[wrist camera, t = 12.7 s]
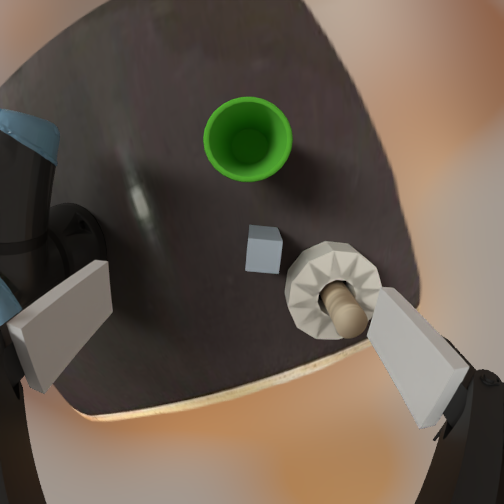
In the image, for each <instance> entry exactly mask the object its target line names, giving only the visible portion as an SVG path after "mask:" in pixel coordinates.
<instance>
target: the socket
mask: <svg viewBox="0 0 504 504" xmlns="http://www.w3.org/2000/svg"><path fill="white" fill-rule="evenodd" d="M335 280H345V281H346V287H347V288H348V290H349V291H350V292H351V294H352V295H353V297H354V298H355V299H356V301H357V302H358V304H359V305H360V306H361V308H362V309H363V311H364V312H365V314H366V315H367V318H368V321H369V320H370V319H371V318H372V316H373V313H374V310H375V306H376V303H377V299H378V295H379V291H380V287H382V285H381V281H380V278H379V274H378V271H377V268H376V267H375V266H374V265H373V264H372V263H371V262H370V261H368V260H367V259H366V258H365V257H364V256H363V255H361V254H360V253H359V252H358V251H357V250H355V249H354V248H353V247H352V246H350V245H349V244H347V243H338V242H328V241H324V242H322V243H320V244H318V245H315V246H313V247H311V248H308V249H306V250H304V251H302V253H301V254H300V255H299V256H298V258H297V259H296V260H295V262H294V263H293V264H292V265H291V267H290V268H289V269H288V272H287V279H286V286H285V297H286V301H287V306H288V309H289V311H290V313H291V315H292V317H293V320H294V322H295V324H296V326H297V328H299V329H300V330H302V331H304V332H305V333H307V334H309V335H310V336H312V337H314V338H315V339H337V340H339V339H341V338H343V337H342V336H340V335H339V334H338V332H337V330H336V328H335V326H334V324H333V322H332V319H331V317H330V315H329V313H328V311H327V309H326V307H325V305H324V303H323V301H321V300H320V299H318V297H319V292H320V291H321V290H322V289H323V288H324V286H325V285H326V284H328V283H330V282H332V281H335Z"/></svg>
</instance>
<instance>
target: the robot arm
mask: <svg viewBox="0 0 504 504" xmlns="http://www.w3.org/2000/svg"><path fill="white" fill-rule="evenodd" d="M59 141H60V133H59V130H58V128H57V126H56V125H55V124H53V123H51V122H49V121H47V120H44V119H41V118H38V117H35V116H32V115H28V114H24V113H20V112H16V111H12V110H7V109H0V504H46V501H45V498H44V495H43V491H42V489H41V485H40V481H39V478H38V474H37V470H36V466H35V463H34V458H33V454H32V449H31V444H30V439H29V433H28V427H27V420H26V413H25V405H24V395H23V387H22V385H21V382H20V380H21V379H22V378H23V377H24V375H25V377H26V379H27V382H28V384H29V387H30V388H32V389H34V390H37V391H39V392H41V393H43V394H45V393H46V391H47V390H48V389H49V388H50V386H51V385H52V384H53V382H54V381H55V380H56V379H57V377H58V376H59V375H60V374H61V372H62V371H63V370H64V369H65V368H66V366H67V365H68V364H69V363H70V361H71V360H72V359H73V358H74V357H75V355H76V354H77V353H78V352H79V351H80V349H81V348H82V347H83V346H84V345H85V343H86V342H87V341H88V340H89V339H90V338H91V336H92V335H93V334H94V333H95V332H96V331H97V329H98V328H99V327H100V326H101V325H102V324H103V323H104V321H105V320H106V319H107V318H108V317H109V316H110V315H111V314H112V312H113V309H112V300H111V291H110V280H109V266H108V261H106V244H105V240H104V236H103V233H102V231H101V228H100V226H99V224H98V223H97V221H96V220H95V218H94V217H93V216H92V215H91V214H90V213H89V212H88V211H87V210H86V209H84V208H83V207H81V206H79V205H77V204H73V203H63V204H59V205H55V206H52V207H50V201H51V193H52V186H53V180H54V174H55V168H56V166H57V153H58V147H59ZM367 337H368V339H369V340H370V342H371V344H372V345H373V347H374V348H375V350H376V352H377V354H378V355H379V357H380V359H381V361H382V362H383V364H384V366H385V368H386V369H387V371H388V373H389V375H390V376H391V378H392V380H393V382H394V383H395V385H396V387H397V389H398V390H399V392H400V394H401V396H402V398H403V400H404V401H405V403H406V405H407V407H408V409H409V410H410V412H411V414H412V416H413V418H414V420H415V422H416V423H417V426H418V427H419V429H422V428H427V427H431V426H435V425H436V423H437V422H438V420H439V419H440V417H441V416H442V414H444V416H445V418H446V419H447V420H446V422H445V423H444V425H443V426H442V428H441V429H440V430H439V432H438V433H437V435H436V436H435V437H434V439H433V440H434V441H436V439H437V438H438V437H439V440H438V443H437V447H436V450H435V453H434V456H433V459H432V462H431V465H430V467H429V470H428V473H427V475H426V478H425V481H424V483H423V486H422V488H421V491H420V493H419V495H418V498H417V500H416V502H415V504H504V383H502V382H501V380H500V378H499V377H498V376H497V375H496V374H494V373H493V372H490V371H489V370H484V369H482V370H477V371H476V369H474V367H473V366H472V365H471V364H470V363H469V362H468V361H467V360H466V359H465V357H464V356H463V355H462V354H460V352H459V351H458V350H457V349H456V348H455V347H454V346H453V344H452V343H451V342H450V341H449V340H448V339H446V338H444V337H443V336H441V335H440V334H439V333H438V332H437V331H436V330H435V329H434V328H433V327H432V326H431V324H430V323H429V322H428V321H427V320H426V319H424V317H423V316H422V315H421V314H420V313H419V312H418V311H417V310H416V309H415V308H414V307H413V306H412V305H411V304H410V303H409V302H408V301H407V300H406V299H405V298H404V297H403V296H402V295H401V294H400V293H399V292H397V291H396V290H395V289H394V288H388V287H380V291H379V295H378V299H377V303H376V306H375V310H374V313H373V317H372V320H371V324H370V327H369V330H368V333H367Z"/></svg>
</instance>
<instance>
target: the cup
mask: <svg viewBox="0 0 504 504" xmlns="http://www.w3.org/2000/svg"><path fill="white" fill-rule="evenodd" d="M292 141H293V137H292V129H291V127H290V124H289V122H288V119H287V118H286V116H285V115H284V114H283V112H282V111H281V110H280V109H279V108H278V107H276V106H275V105H274V104H272V103H270V102H268V101H266V100H264V99H260V98H256V97H240V98H236V99H232V100H230V101H228V102H226V103H224V104H222V105H221V106H220V107H219V108H218V109H217V110H215V111H214V113H213V114H212V115H211V117H210V118H209V120H208V122H207V125H206V127H205V130H204V138H203V142H204V149H205V152H206V155H207V157H208V160H209V161H210V163H211V164H212V165H213V167H214V168H215V169H216V170H217V171H219V172H220V173H221V174H222V175H224V176H226V177H228V178H230V179H232V180H236V181H240V182H256V181H260V180H264V179H266V178H268V177H270V176H272V175H274V174H275V173H276V172H277V171H278V170H279V169H281V168H282V166H283V165H284V164H285V162H286V161H287V159H288V157H289V155H290V152H291V149H292Z"/></svg>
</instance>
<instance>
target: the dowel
mask: <svg viewBox="0 0 504 504" xmlns="http://www.w3.org/2000/svg"><path fill="white" fill-rule="evenodd" d="M319 295H320V297H321V299H322V301H323V303H324V305H325V307H326V309H327V311H328V313H329V315H330V317H331V319H332V322H333V324H334V326H335V328H336V330H337V332H338V334H339V335H340V336H342V337H344V338H354V337H357V336H358V335H360V334H361V333H362V332H363V331H364V330H365V328H366V327H367V324H368V318H367V315H366V314H365V312H364V311H363V309H362V308H361V306H360V305H359V304H358V302H357V301H356V299H355V298H354V297H353V295H352V294H351V292H350V291H349V290H348V288H347V287H346V286H345V284H344V283H343V281H342V280H335V281H332V282H330V283H328V284H326V285H325V286H324V288H323V289H322V290H321V291H320V292H319Z"/></svg>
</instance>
